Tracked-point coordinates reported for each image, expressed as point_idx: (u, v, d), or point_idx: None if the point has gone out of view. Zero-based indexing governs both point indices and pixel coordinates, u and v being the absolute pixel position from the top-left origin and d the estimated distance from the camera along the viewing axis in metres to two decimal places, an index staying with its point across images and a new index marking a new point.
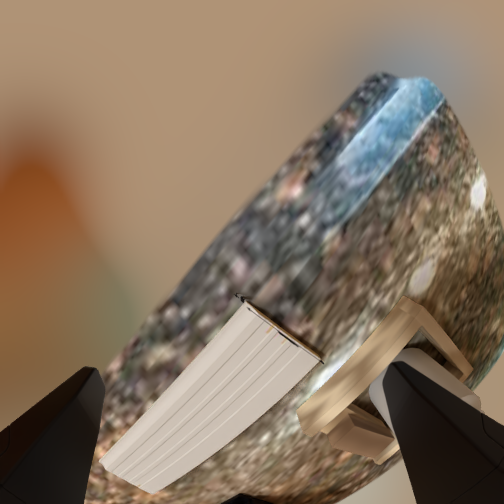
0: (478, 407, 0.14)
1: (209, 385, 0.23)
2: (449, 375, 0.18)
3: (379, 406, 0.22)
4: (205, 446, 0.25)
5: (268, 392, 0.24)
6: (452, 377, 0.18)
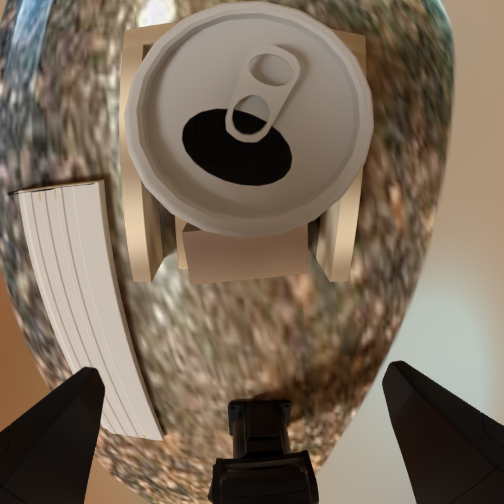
0: None
1: (53, 285, 0.20)
2: None
3: None
4: (118, 357, 0.23)
5: (91, 256, 0.19)
6: None
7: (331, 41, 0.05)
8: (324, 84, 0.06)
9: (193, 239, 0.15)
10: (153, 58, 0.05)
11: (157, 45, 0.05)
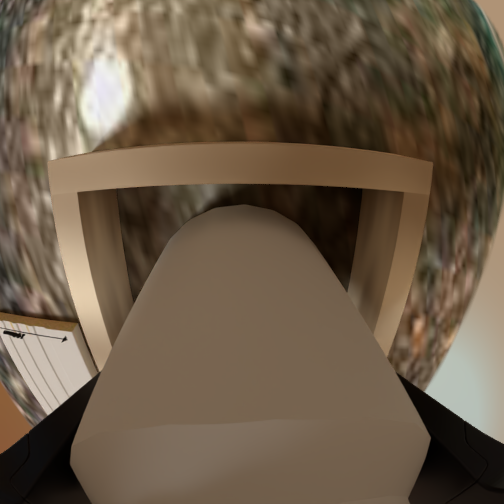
0: (258, 496, 0.02)
1: (49, 400, 0.16)
2: (180, 285, 0.06)
3: None
4: None
5: None
6: (181, 293, 0.06)
7: None
8: None
9: None
10: None
11: None
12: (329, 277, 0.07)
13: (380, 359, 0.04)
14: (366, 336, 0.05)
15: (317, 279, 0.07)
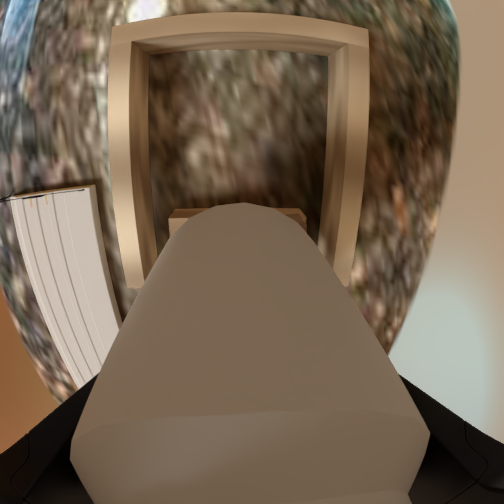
0: (257, 488, 0.02)
1: (49, 291, 0.19)
2: (181, 281, 0.06)
3: None
4: None
5: (85, 263, 0.18)
6: (182, 288, 0.06)
7: None
8: None
9: None
10: None
11: None
12: (328, 274, 0.07)
13: (379, 354, 0.05)
14: (365, 331, 0.05)
15: (316, 275, 0.07)
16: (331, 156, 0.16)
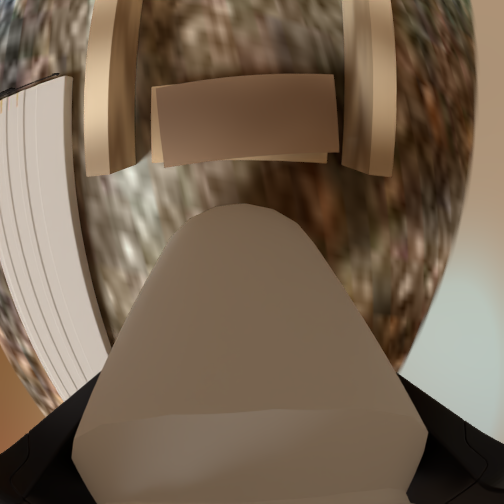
0: (257, 486, 0.02)
1: (5, 220, 0.14)
2: (182, 281, 0.06)
3: None
4: (78, 318, 0.17)
5: (46, 171, 0.13)
6: (183, 289, 0.06)
7: None
8: None
9: (171, 96, 0.09)
10: None
11: None
12: (328, 274, 0.07)
13: (377, 354, 0.05)
14: (364, 331, 0.05)
15: (316, 276, 0.07)
16: (351, 32, 0.11)
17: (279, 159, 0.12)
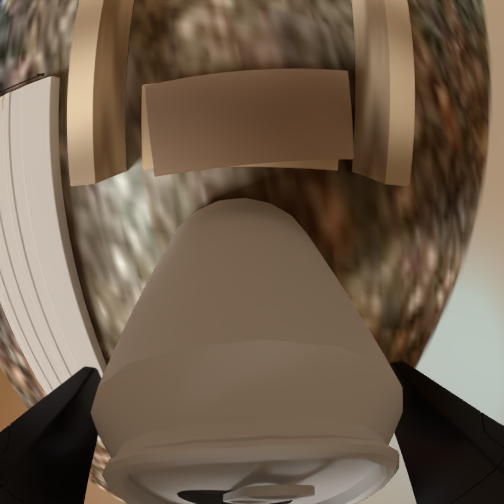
0: (253, 405, 0.04)
1: None
2: (192, 259, 0.07)
3: None
4: (70, 333, 0.15)
5: (33, 180, 0.11)
6: (193, 264, 0.07)
7: (371, 460, 0.03)
8: (345, 466, 0.04)
9: (162, 94, 0.08)
10: (118, 478, 0.03)
11: (115, 470, 0.03)
12: (316, 257, 0.09)
13: (355, 317, 0.06)
14: (344, 300, 0.06)
15: (305, 256, 0.08)
16: (363, 27, 0.09)
17: (285, 166, 0.11)
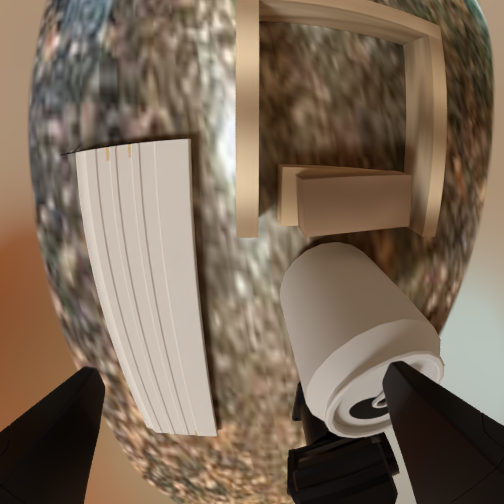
0: (402, 342, 0.10)
1: (114, 260, 0.19)
2: (344, 288, 0.14)
3: None
4: (185, 342, 0.22)
5: (170, 223, 0.18)
6: (349, 291, 0.14)
7: (436, 363, 0.10)
8: None
9: (313, 187, 0.15)
10: (349, 392, 0.10)
11: (352, 385, 0.10)
12: (392, 282, 0.15)
13: (419, 311, 0.13)
14: (413, 304, 0.13)
15: (390, 283, 0.15)
16: (414, 125, 0.16)
17: None
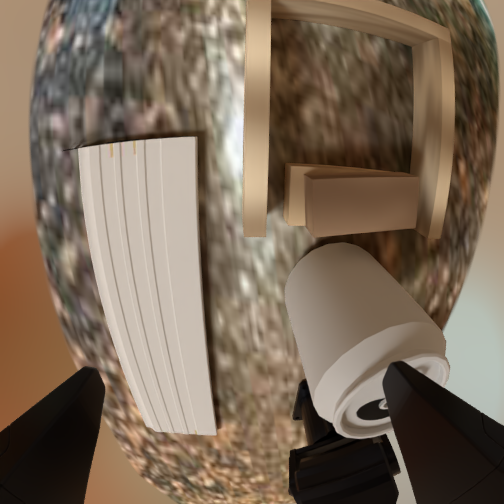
0: (411, 344, 0.10)
1: (116, 259, 0.19)
2: (353, 289, 0.14)
3: None
4: (187, 341, 0.22)
5: (175, 222, 0.18)
6: (357, 292, 0.14)
7: (443, 366, 0.10)
8: (428, 377, 0.11)
9: (323, 187, 0.15)
10: (359, 394, 0.10)
11: (362, 387, 0.10)
12: (398, 284, 0.15)
13: (426, 313, 0.12)
14: (419, 306, 0.13)
15: (397, 285, 0.15)
16: (422, 127, 0.16)
17: None
